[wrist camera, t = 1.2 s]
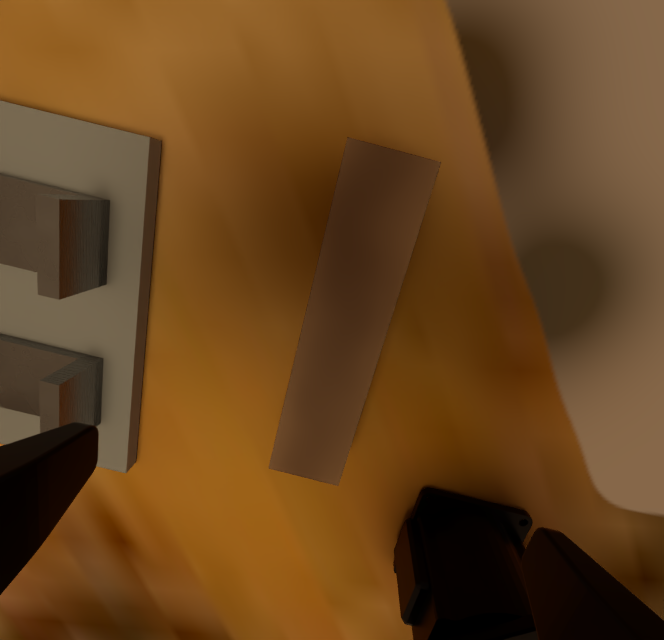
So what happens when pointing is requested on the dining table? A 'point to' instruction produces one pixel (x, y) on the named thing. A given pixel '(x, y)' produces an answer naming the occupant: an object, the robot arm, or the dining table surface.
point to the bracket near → (54, 236)
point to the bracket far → (50, 382)
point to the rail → (351, 305)
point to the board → (122, 270)
